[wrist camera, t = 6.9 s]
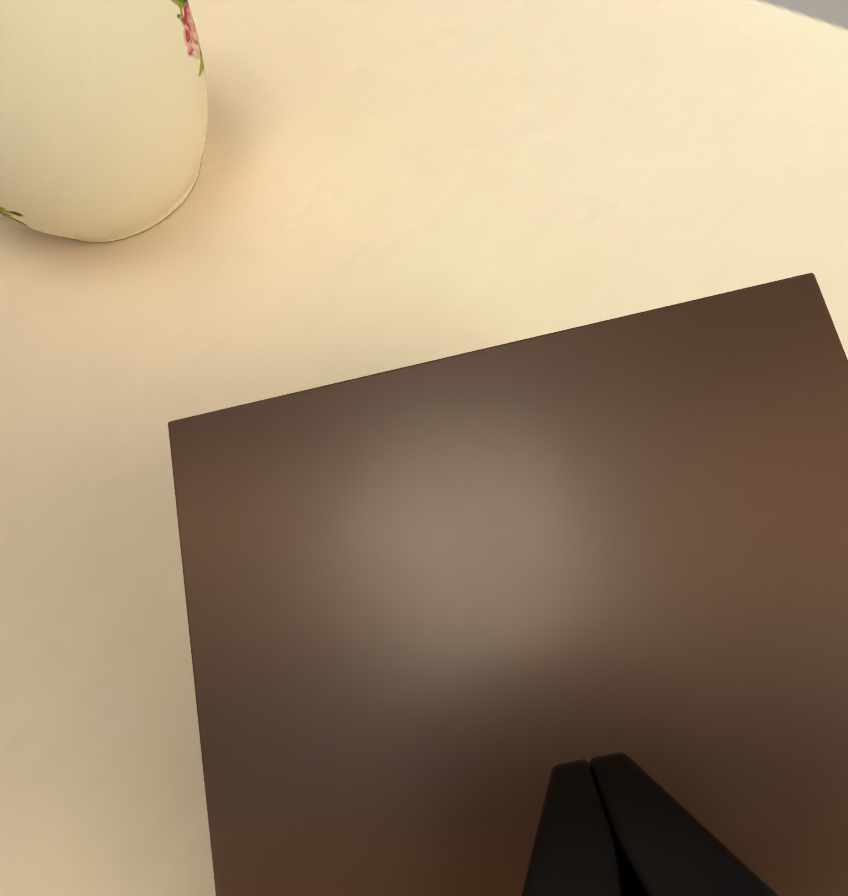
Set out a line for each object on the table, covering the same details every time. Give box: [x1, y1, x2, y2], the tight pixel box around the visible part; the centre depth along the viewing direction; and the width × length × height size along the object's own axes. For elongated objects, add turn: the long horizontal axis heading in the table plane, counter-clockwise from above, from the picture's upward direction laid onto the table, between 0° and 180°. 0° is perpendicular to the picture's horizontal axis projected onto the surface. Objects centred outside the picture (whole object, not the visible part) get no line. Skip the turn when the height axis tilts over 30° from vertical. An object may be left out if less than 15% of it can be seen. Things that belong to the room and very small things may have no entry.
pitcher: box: [0, 0, 208, 242], centre depth 24 cm, size 11×18×14 cm, turn 37°
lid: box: [168, 273, 848, 896], centre depth 11 cm, size 12×11×1 cm
